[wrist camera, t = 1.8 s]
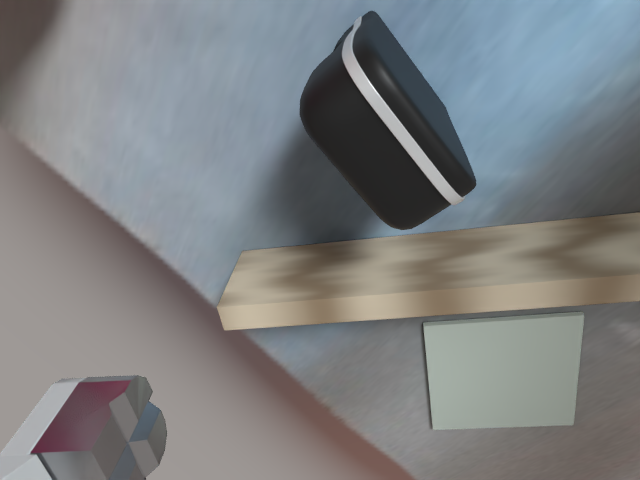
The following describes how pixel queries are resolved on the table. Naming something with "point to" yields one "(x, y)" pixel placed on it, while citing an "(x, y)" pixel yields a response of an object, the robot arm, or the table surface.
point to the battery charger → (385, 127)
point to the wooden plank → (437, 273)
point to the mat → (504, 370)
